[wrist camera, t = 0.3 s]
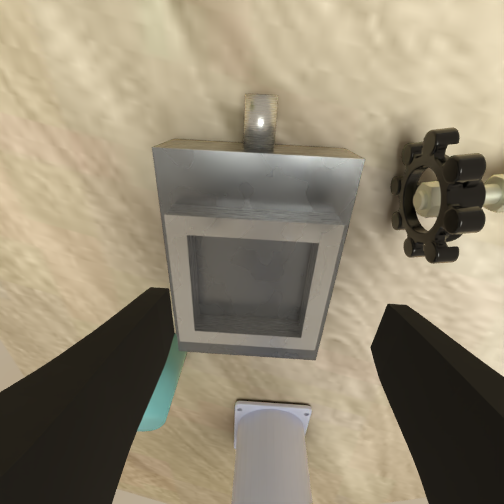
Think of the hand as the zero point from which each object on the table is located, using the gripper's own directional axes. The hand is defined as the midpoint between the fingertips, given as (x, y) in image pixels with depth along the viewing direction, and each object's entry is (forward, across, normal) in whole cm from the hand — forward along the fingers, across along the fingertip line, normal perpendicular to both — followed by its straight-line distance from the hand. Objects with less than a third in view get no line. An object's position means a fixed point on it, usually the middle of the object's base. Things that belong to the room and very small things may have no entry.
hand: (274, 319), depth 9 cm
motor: (+10, +1, +1) cm, 10 cm away
